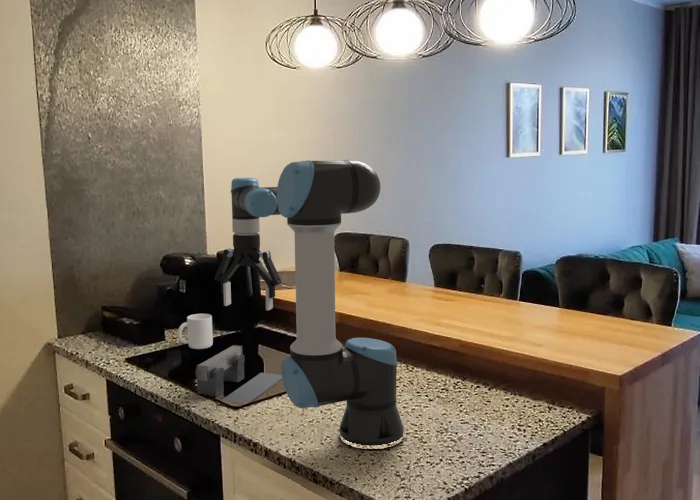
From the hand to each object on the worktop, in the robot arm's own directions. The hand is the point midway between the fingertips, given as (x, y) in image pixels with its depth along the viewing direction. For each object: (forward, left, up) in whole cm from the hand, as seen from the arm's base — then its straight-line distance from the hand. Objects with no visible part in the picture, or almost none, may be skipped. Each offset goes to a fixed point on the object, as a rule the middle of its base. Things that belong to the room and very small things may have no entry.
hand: (248, 307), depth 196 cm
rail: (-6, +6, -17) cm, 19 cm away
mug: (+25, +34, -23) cm, 48 cm away
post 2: (0, +6, -22) cm, 23 cm away
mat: (-6, -4, -22) cm, 23 cm away
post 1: (-12, +6, -22) cm, 26 cm away
